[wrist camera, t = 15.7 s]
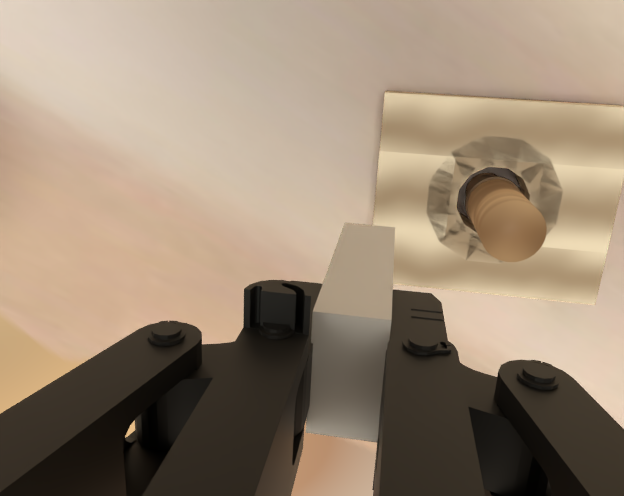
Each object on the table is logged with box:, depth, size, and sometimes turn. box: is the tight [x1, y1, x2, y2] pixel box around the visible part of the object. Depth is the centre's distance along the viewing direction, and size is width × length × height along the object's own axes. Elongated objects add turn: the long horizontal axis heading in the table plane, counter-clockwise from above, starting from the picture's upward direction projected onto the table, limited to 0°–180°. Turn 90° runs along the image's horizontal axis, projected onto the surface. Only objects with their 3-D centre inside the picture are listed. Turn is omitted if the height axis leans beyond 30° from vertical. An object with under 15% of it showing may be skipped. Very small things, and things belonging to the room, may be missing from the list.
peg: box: [465, 173, 547, 262], centre depth 44 cm, size 4×4×13 cm
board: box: [373, 91, 624, 305], centre depth 48 cm, size 16×19×4 cm
